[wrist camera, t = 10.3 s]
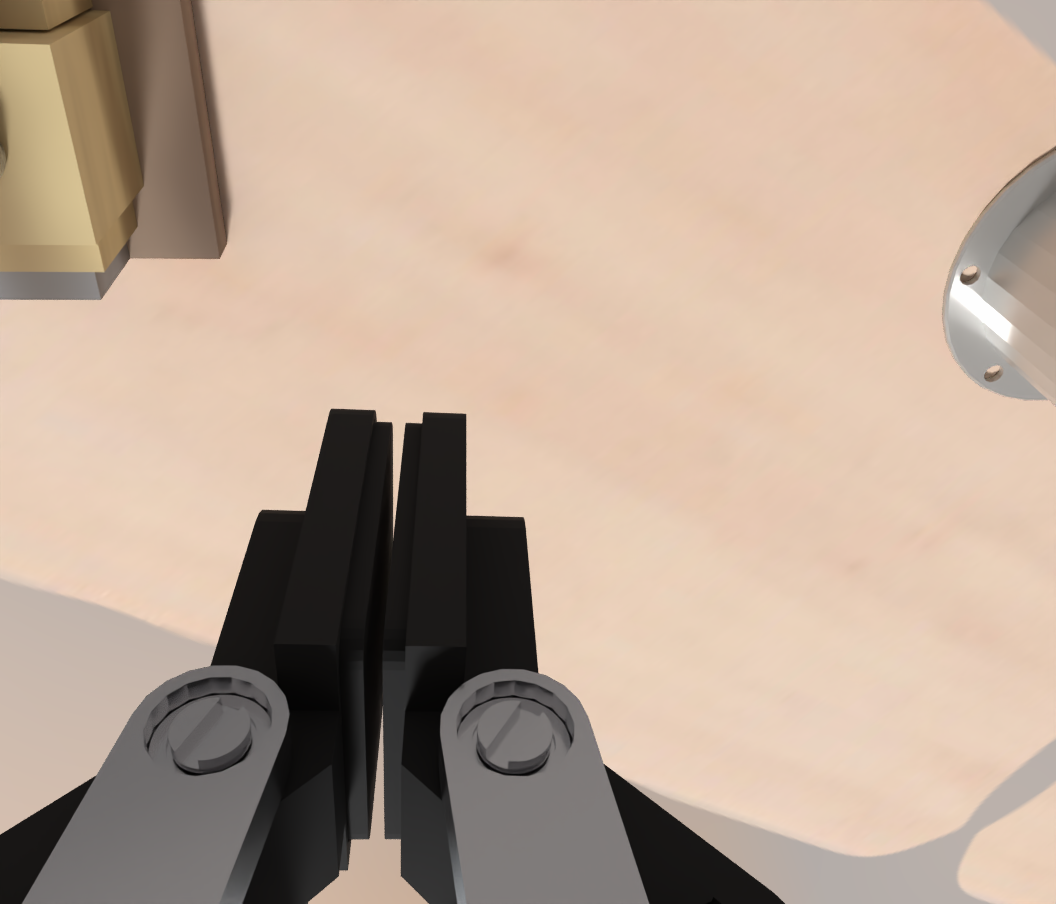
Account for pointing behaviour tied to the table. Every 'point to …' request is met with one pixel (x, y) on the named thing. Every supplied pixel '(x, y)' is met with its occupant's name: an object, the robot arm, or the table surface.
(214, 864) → the robot arm
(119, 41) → the valve block
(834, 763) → the table surface
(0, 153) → the valve lever
